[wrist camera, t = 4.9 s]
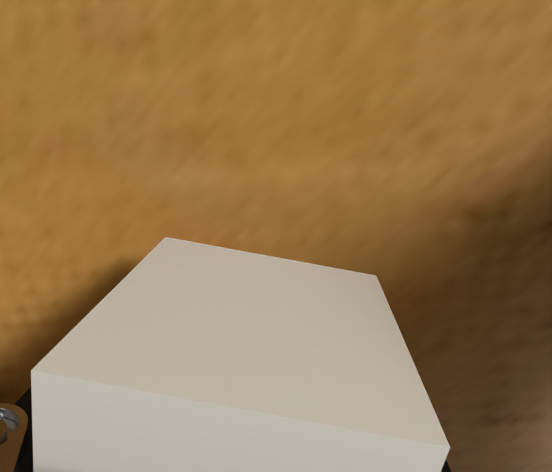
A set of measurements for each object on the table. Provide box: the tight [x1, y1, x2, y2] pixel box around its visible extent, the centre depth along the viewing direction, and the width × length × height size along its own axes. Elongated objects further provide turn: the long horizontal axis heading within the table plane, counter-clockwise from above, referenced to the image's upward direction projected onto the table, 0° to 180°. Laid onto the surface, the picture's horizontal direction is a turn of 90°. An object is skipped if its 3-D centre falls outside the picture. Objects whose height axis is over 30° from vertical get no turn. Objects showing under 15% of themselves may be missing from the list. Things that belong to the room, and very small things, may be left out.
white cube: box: [31, 237, 450, 472], centre depth 10 cm, size 6×6×6 cm
